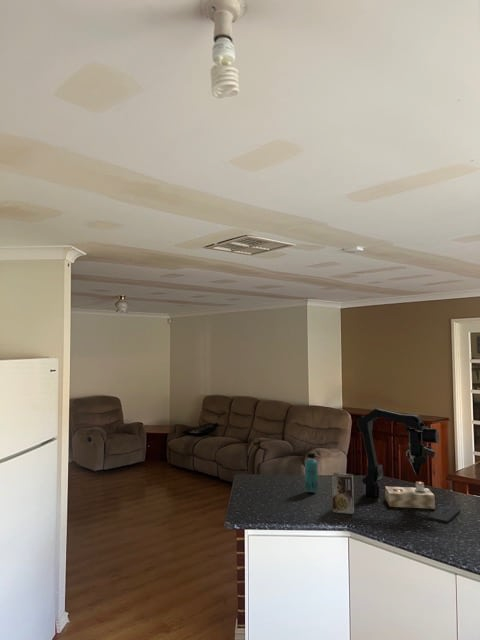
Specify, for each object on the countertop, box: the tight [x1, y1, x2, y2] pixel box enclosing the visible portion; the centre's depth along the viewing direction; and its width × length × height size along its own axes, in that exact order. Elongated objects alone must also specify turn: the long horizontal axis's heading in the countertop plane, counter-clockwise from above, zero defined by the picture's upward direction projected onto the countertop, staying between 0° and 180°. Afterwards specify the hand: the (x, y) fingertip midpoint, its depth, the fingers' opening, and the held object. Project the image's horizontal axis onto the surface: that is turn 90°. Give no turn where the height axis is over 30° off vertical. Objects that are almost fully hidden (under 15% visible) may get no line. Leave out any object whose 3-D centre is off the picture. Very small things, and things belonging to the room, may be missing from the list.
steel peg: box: [415, 481, 425, 493], centre depth 222 cm, size 4×4×6 cm
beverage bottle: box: [304, 452, 318, 492], centre depth 240 cm, size 6×7×20 cm
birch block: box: [384, 485, 436, 510], centre depth 222 cm, size 20×12×6 cm, turn 82°
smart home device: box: [427, 505, 461, 524], centre depth 205 cm, size 8×2×20 cm
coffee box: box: [331, 472, 355, 515], centre depth 211 cm, size 9×6×16 cm
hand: (417, 475), depth 222 cm, fingers closed
